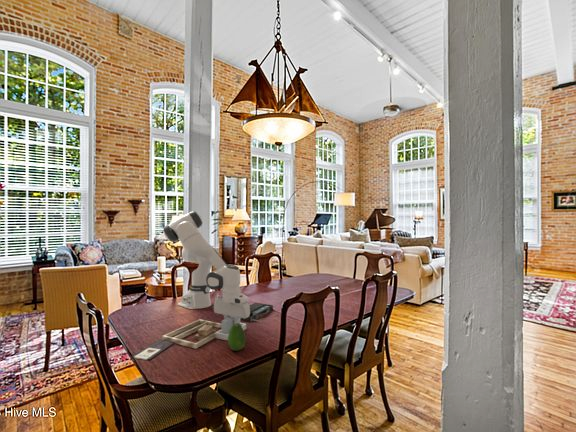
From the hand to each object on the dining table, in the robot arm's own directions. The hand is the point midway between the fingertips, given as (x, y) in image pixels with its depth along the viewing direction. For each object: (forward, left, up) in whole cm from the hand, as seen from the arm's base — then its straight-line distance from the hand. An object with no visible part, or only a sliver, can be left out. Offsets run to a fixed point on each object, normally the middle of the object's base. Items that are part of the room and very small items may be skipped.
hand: (231, 324), depth 157 cm
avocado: (+14, -15, -5) cm, 21 cm away
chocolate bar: (-19, -31, -5) cm, 37 cm away
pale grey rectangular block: (0, 0, -4) cm, 4 cm away
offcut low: (-9, -9, -5) cm, 14 cm away
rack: (-14, -9, -5) cm, 17 cm away
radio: (-2, +31, -5) cm, 31 cm away
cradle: (0, 0, -5) cm, 5 cm away
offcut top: (-9, -9, -3) cm, 13 cm away
